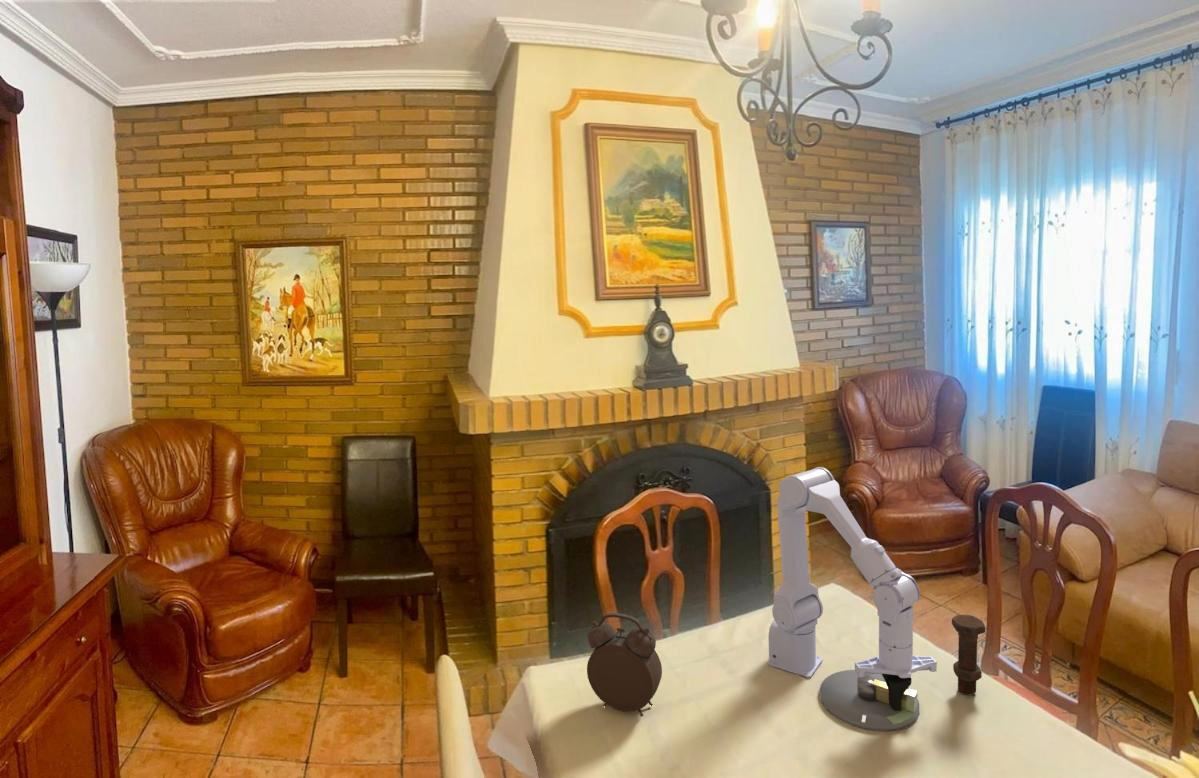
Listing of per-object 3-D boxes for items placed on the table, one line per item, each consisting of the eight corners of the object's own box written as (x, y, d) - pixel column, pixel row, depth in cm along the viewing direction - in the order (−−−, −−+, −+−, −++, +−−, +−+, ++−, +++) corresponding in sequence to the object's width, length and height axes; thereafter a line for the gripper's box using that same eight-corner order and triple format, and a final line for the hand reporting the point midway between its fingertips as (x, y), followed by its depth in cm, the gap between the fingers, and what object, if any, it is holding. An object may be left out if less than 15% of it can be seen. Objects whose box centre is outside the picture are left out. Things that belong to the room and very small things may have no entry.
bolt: (986, 701, 126) (988, 629, 124) (957, 699, 127) (959, 627, 125) (975, 683, 132) (977, 613, 130) (948, 682, 133) (949, 612, 131)
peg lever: (854, 696, 128) (854, 680, 128) (861, 686, 131) (861, 670, 131) (912, 716, 121) (912, 699, 121) (918, 704, 124) (918, 688, 124)
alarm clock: (667, 703, 132) (662, 610, 129) (654, 726, 125) (649, 628, 122) (601, 689, 138) (595, 600, 135) (586, 710, 132) (579, 616, 129)
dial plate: (806, 709, 127) (806, 704, 127) (837, 664, 141) (837, 659, 141) (906, 744, 116) (906, 738, 116) (928, 692, 130) (929, 686, 130)
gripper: (866, 655, 117) (866, 724, 119) (946, 648, 117) (945, 718, 119) (849, 634, 124) (850, 700, 126) (925, 628, 124) (924, 694, 126)
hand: (895, 707), depth 123 cm, fingers closed, pressing on peg lever
